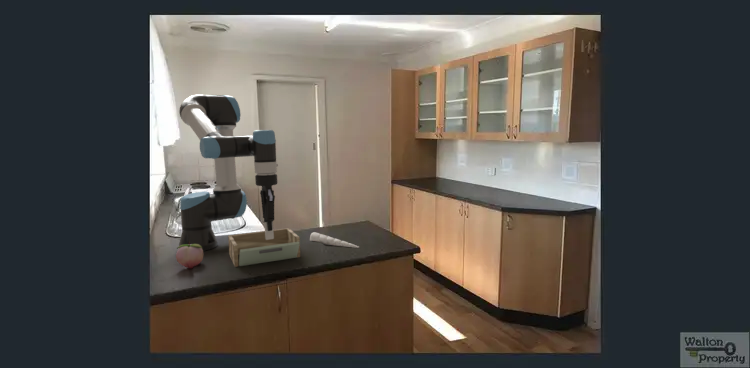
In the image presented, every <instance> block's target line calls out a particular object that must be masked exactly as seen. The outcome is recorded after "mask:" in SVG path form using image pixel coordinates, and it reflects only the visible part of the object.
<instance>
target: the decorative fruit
mask: <svg viewBox="0 0 750 368" xmlns="http://www.w3.org/2000/svg"><path fill="white" fill-rule="evenodd" d="M176 250H177V251H176V255H175V258H176V259H175V260H176V261H177V263H179V265H181V266H182V267H184V268H187V269H193V268H194V267H197V266H199V264H200V263H201V262H202V261H203V260H204V251H203V250H202V247H201V246H200V245H199V244H190V242H189V244H184V245H181V246H179V245H178V247H176Z"/></svg>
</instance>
